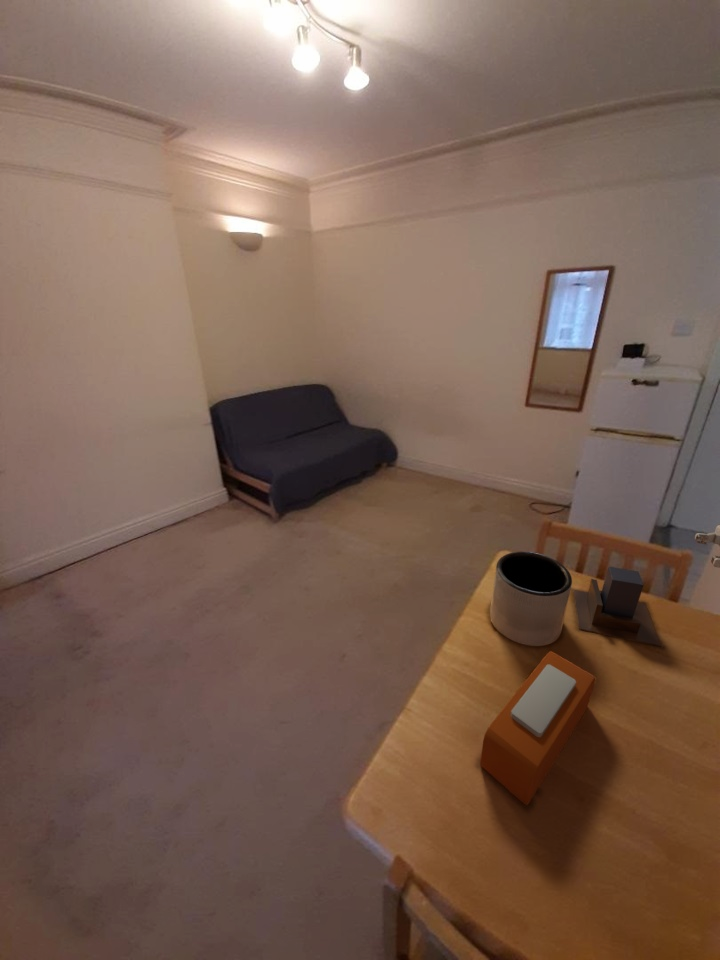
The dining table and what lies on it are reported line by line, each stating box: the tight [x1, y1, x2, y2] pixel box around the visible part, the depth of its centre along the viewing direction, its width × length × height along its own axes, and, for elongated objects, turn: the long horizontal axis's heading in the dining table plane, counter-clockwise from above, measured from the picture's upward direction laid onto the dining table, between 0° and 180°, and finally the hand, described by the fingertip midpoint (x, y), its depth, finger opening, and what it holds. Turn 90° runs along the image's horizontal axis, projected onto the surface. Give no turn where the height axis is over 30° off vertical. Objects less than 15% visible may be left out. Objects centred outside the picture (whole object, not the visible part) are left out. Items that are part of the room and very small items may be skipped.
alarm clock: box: [479, 651, 596, 806], centre depth 70 cm, size 24×8×11 cm, turn 132°
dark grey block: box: [601, 566, 644, 619], centre depth 93 cm, size 6×5×12 cm
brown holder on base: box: [572, 578, 662, 648], centre depth 95 cm, size 16×14×8 cm
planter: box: [489, 551, 573, 647], centre depth 94 cm, size 16×16×16 cm
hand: (704, 548), depth 83 cm, fingers open, 8 cm apart
